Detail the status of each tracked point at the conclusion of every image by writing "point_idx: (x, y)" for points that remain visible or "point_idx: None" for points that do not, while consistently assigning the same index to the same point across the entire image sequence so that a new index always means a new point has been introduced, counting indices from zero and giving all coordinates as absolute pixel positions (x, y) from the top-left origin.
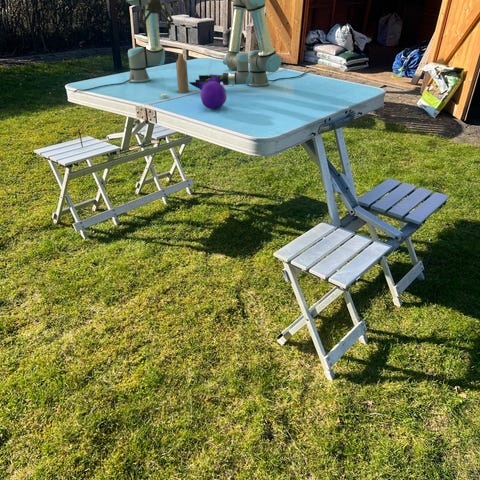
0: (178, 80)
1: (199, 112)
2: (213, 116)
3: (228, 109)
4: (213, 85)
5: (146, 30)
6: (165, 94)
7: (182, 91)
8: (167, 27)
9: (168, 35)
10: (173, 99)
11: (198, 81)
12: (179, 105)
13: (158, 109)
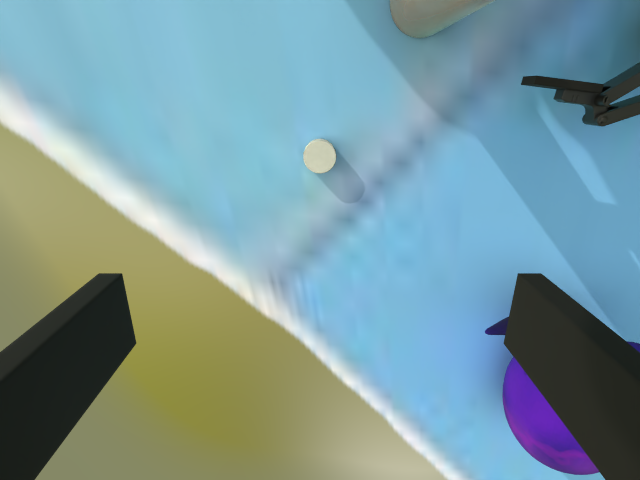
0: (414, 12)
1: (474, 400)
2: (515, 443)
3: None
4: (591, 473)
5: (80, 382)
6: (328, 153)
7: (418, 37)
8: (589, 453)
9: (510, 343)
10: (370, 196)
11: (549, 87)
12: (402, 304)
13: (321, 353)
